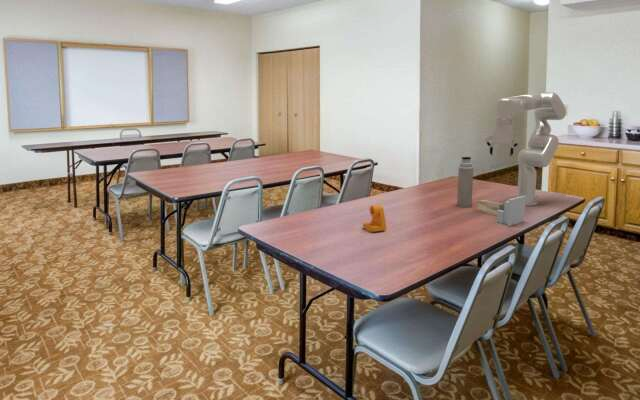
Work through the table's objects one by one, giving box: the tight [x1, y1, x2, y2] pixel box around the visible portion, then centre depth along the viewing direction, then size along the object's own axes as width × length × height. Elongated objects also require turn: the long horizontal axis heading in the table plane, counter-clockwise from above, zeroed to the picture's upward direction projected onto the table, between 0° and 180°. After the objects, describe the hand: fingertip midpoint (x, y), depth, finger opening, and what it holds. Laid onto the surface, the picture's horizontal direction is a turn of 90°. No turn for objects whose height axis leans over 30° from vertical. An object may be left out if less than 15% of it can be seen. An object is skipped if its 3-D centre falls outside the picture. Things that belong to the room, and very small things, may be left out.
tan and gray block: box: [477, 199, 505, 216], centre depth 267 cm, size 5×16×6 cm, turn 37°
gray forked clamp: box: [496, 196, 526, 227], centre depth 249 cm, size 8×13×13 cm, turn 128°
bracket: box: [362, 204, 387, 233], centre depth 240 cm, size 11×7×12 cm, turn 23°
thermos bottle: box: [456, 156, 474, 208], centre depth 283 cm, size 8×8×28 cm
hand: (501, 155), depth 265 cm, fingers open, 9 cm apart
